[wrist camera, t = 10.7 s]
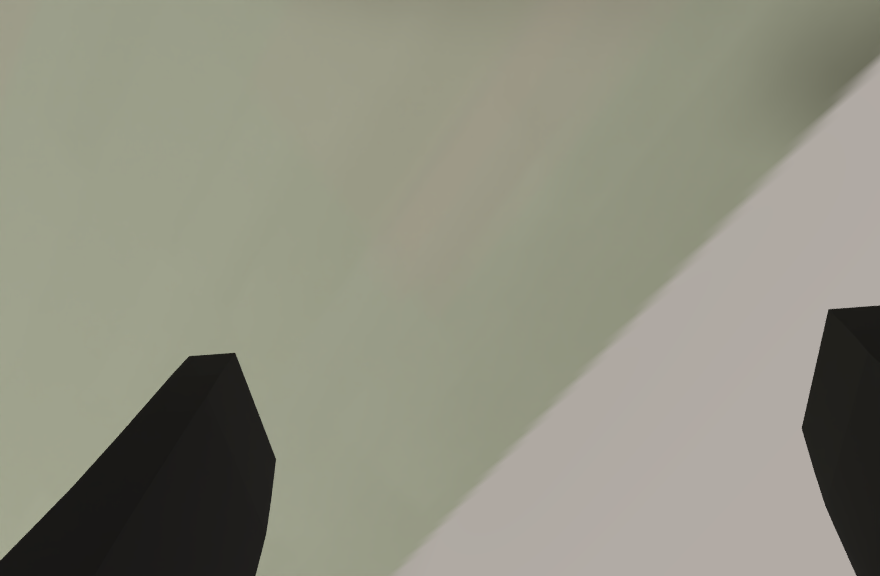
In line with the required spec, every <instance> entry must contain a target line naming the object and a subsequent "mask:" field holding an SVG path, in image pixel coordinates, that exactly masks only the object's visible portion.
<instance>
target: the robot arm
mask: <svg viewBox="0 0 880 576" xmlns="http://www.w3.org/2000/svg"><path fill="white" fill-rule="evenodd" d="M802 431H803V434H804V438H805V441H806V444H807V448H808V451H809V455H810V458H811V461H812V465H813V468H814V472H815V475H816V478H817V481H818V484H819V487H820V490H821V493H822V497H823V500H824V502H825V506H826V508H827V510H828V513H829V515H830V517H831V520H832V522H833V524H834V526H835V529H836V531H837V533H838V535H839V538H840V540H841V542H842V544H843V546H844V549H845V551H846V553H847V555H848V558H849V560H850V562H851V564H852V567H853V569H854V571H855V573H856V575H857V576H880V306H868V307H856V308H843V309H842V308H841V309H829V310H828V314H827V319H826V323H825V327H824V332H823V337H822V341H821V346H820V350H819V355H818V359H817V363H816V367H815V372H814V376H813V381H812V385H811V390H810V394H809V399H808V403H807V408H806V412H805V417H804V421H803V425H802ZM275 463H276V458H275V456H274V453H273V450H272V448H271V445H270V443H269V440H268V437H267V435H266V432H265V430H264V427H263V424H262V422H261V419H260V417H259V414H258V411H257V409H256V406H255V404H254V401H253V398H252V396H251V393H250V390H249V388H248V385H247V383H246V380H245V377H244V375H243V372H242V370H241V367H240V364H239V362H238V359H237V357H236V354H235V353H228V354H214V355H200V356H189V357H188V358H187V359H186V360H185V361H184V362H183V363H182V365H181V366H180V367H179V368H178V369H177V370H176V371H175V372H174V373H173V374H172V375H171V377H170V378H169V379H168V380H167V381H166V382H165V383H164V385H163V386H162V387H161V388H160V389H159V390H158V391H157V393H156V394H155V395H154V396H153V397H152V398H151V399H150V401H149V402H148V403H147V404H146V405H145V406H144V407H143V409H142V410H141V411H140V412H139V413H138V414H137V415H136V417H135V418H134V419H133V420H132V421H131V422H130V423H129V425H128V426H127V427H126V428H125V429H124V430H123V431H122V433H121V434H120V435H119V436H118V437H117V438H116V439H115V440H114V441H113V443H112V444H111V445H110V446H109V447H108V448H107V449H106V450H105V451H104V453H103V454H102V455H101V456H100V457H99V458H98V459H97V460H96V461H95V463H94V464H93V465H92V466H91V467H90V468H89V469H88V470H87V471H86V472H85V474H84V475H83V476H82V477H81V478H80V479H79V480H78V481H77V482H76V484H75V485H74V486H73V487H72V488H71V489H70V490H69V491H68V492H67V493H66V494H65V495H64V496H63V497H62V498H61V499H60V500H59V501H58V502H57V503H56V504H55V505H54V506H53V507H52V508H51V509H50V510H49V511H48V513H47V514H46V515H45V516H44V517H43V518H42V519H41V520H40V521H39V522H38V523H37V524H36V525H35V526H34V527H33V528H32V529H31V530H30V531H29V532H28V533H27V534H26V535H25V536H24V537H23V538H22V539H21V540H20V541H19V542H18V543H17V544H16V545H15V546H14V547H13V548H12V549H11V550H10V551H9V552H8V553H7V554H6V555H5V556H4V557H3V559H2V560H0V576H255V575H256V571H257V568H258V564H259V560H260V556H261V552H262V548H263V544H264V540H265V536H266V531H267V524H268V517H269V510H270V504H271V496H272V488H273V479H274V471H275Z"/></svg>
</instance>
